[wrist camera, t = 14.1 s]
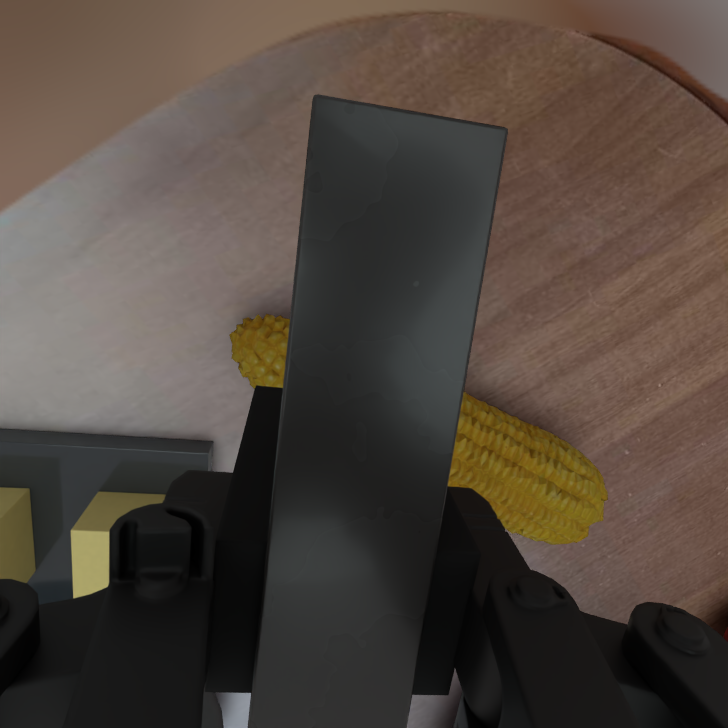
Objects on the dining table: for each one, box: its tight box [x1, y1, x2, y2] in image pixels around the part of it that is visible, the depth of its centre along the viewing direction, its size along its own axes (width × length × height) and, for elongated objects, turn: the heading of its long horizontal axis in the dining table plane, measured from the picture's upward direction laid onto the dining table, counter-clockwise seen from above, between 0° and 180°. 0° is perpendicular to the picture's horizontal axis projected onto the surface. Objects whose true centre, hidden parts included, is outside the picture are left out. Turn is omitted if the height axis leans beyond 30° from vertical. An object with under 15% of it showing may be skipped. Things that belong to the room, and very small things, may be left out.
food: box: [229, 314, 608, 545], centre depth 27 cm, size 21×6×6 cm, turn 62°
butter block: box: [71, 492, 166, 598], centre depth 27 cm, size 5×5×4 cm
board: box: [0, 429, 213, 605], centre depth 29 cm, size 10×14×2 cm
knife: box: [248, 95, 508, 728], centre depth 12 cm, size 23×2×7 cm, turn 172°
